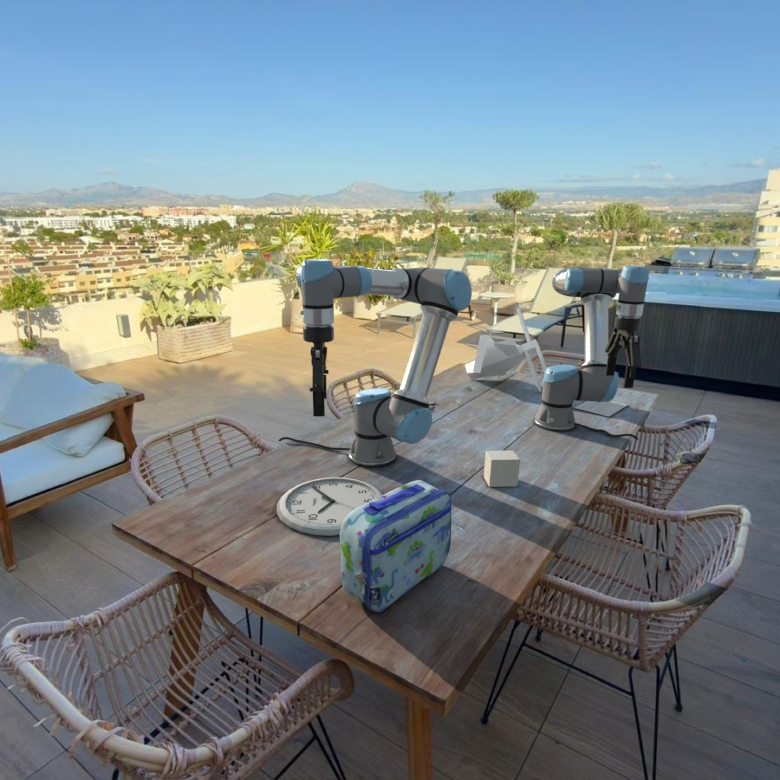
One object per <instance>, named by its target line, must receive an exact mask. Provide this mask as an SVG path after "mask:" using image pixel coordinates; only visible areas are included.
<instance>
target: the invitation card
mask: <svg viewBox="0 0 780 780" xmlns="http://www.w3.org/2000/svg"><path fill="white" fill-rule="evenodd" d="M628 406H629V404H627V403H623V402H618V401H614V400H611V401H610V402H594V401H583V402H582V403H580V404H578V405H575V406H574V407H573V409H575V410H581V411H584V412H587V413H593V414H596V415H600V416H604V417H608V418H609V417H611V416H613V415H614V414H616V413H617V412H619V411H621V410H623V409H624V408H626V407H628Z"/></svg>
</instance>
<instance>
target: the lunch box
mask: <svg viewBox="0 0 780 780" xmlns="http://www.w3.org/2000/svg"><path fill="white" fill-rule="evenodd" d="M383 494H384V495H382V496H380V497H378V498H376V499H374V500H372V501H370V502H368V503H366V504H364V505H362V506H360V507H358V508H356V509H354V510H353V511H351V512H350V513H349V514H348V515H347V516H346V518H345V519H344V521H343V523H342V526H341V530H340V535H339V551H340V574H341V576H340V577H341V585H342V588H343V589H342V590H343V591H344V593H346V594H348V595H350V596H352V597H353V598H355V599H357V600H358V601H359V602H361V603H362V604H364V605H365V606H366V608H367V609H369V610H370V611H371V612H374V613H381V612H384V611H385V610H386V609H387V608H389V607H390V606H391V605H392V604H393V603H395V602H396V601H397V600H399V599H400V598H401V597H402V596H404V595H405V594H407V593H408V592H410V591H411V590H412V589H413V588H415V587H416V586H417V585H418V584H419V583H420V582H421V581H423V580H425V579H426V578H427V577H429V576H430V575H432V574H434V573H435V572H436V571H438V570H439V569H440V568H441V567H442V566H443V565H444V563H445V562H446V560H447V558H448V556H449V553H450V550H451V549H450V548H451V545H452V543H451V542H452V497H451V494H450V492H449V491H448V490H446V489H438V488H437V487H435V486H434V485H431V484H429V483H427V482H426V481H424V480H421V479H416V480H413V481H410V482H408V483H405V484H403V485H401V486H399V487H397V488H394V489H393V490H390V491H388V492H387V493H383Z"/></svg>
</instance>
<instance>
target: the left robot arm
mask: <svg viewBox="0 0 780 780" xmlns="http://www.w3.org/2000/svg"><path fill="white" fill-rule="evenodd" d="M295 280H296V283H297V285H298V287H299V288H300V289H301V303H302V304H301V307H302V310H300V311H299V315H301V316H302V323H303V326H302V338H303V341H304V342H306V343H312V344H313V346H311V347H310V357H311V362H310V363H311V367H312V376H311V377H312V383H311V384H312V387H310V388H309V392H311V393H312V411H313V412H312V414H313V415H312V416H313V417H325V415H326V414H325V413H326V412H325V410H326V409H325V406H326V405H325V400H328V399H327V398H328V396H327V395H328V394H327V392H328V391H327V389H328V388H327V375H329V373H330V372H329V371H330V370H329V369H327V356H328V346H326V343H330V342H333V341H334V340H335V326H334V325H333V324H334V323H335V306H334V305H335V304H334V303H335V302H334V301H335V300H334V299H341V298H342V299H343V298H355V297H356V298H358V297H361V296H366V295H368V296H369V295H370V296H384V297H385V296H388V297H390V298H391V299H393V300H401V301H406V302H411V303H412V304H413V303H414V304H418V305H419V308H420V310H421V311H422V317H421V320H420V323H419V327H418V330H417V333H416V336H415V339H414V341H413V346H412V348H411V352H410V354H409V358H408V361H407V365H406V368H405V371H404V374H403V377H402V380H401V384H400V386H399V388H398V389H397V390H394V391H393V393H392V392H391V390H390V389H388V388H383V387H382V388H380V387H378V388H377V387H376V388H368V389H367V388H366V389H363V390H360V391H358V392H356V394H355V396H354V404H353V412H354V413H353V415H354V417H353V418H354V420H353V421H354V436H353V439H352V442H351V445H350V447H333V446H327V445H324V444H320V443H315V442H311V441H307V440H301V439H300V440H299V439H296V438H292V437H289V436H283V437H280V438H279V439H278V440H277V441H278V442H281V441H284V440H289V441H292V442H296V443H300V444H306V445H311V446H315V447H319V448H322V449H327V450H331V451H349V452H348V457H349V460H350V461H351V462H352V463H354V464H356V465H358V466H362V467H370V468H377V467H383V466H387V465H389V464H391V463H393V462H394V461H395V460H396V449H395V445H394V443H393V440H392V439H394V440H397V441H398V442H401V443H406V444H409V445H413V444H414V445H415V444H418V443H420V442H421V441H422V440H423V439H424V438H426V436H427V435H428V434H429V433H430V430H431V427H432V425H433V418H432V417H433V414H432V412H431V411H430V409H429V408H430V405H431V404H430V403H429V401H430V400H428V394H429V391H430V388H431V386H432V385H431V384H432V381H433V378H434V375H435V372H436V369H437V366H438V362H439V359H440V355H441V353H442V349H443V346H444V343H445V339H446V337H447V333H448V330H449V328H450V327H449V326H450V324H451V322H452V321H454V320H456V319H457V318H458V314H459V312H462V311H464V310H466V309H467V308H468V307H469V305H470V304H471V300H472V295H473V289H472V284H471V280H470V277H469V276H468V275H467V274H466V273H465V272H464V271H462V270H457V269H453V268H448V269H447V268H436V267H427V266H426V267H409V268H408V267H406V268H404V267H403V268H401V267H395V268H393V269H391V270H388V269H378V268H369V267H368V268H367V267H365V266H362V265H353V266H352V265H351V266H349V265H348V266H347V265H335V264H333V260H330V259H325V258H324V259H323V258H320V259H318V258H316V259H313V258H309V259H305V260H303V261H302V263H301V265H300V266H299V267H298V268H297V270H296V274H295ZM429 404H430V405H429Z"/></svg>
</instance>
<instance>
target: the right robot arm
mask: <svg viewBox="0 0 780 780" xmlns="http://www.w3.org/2000/svg"><path fill="white" fill-rule="evenodd" d="M649 274H650V268H649V267H648V266H645V265H625V266H624V267H623V268H619V269H612V268H605V267H575V266H574V267H567V268H563V269H560V270H558V271H557V272H555V274H554V275H553V277H552V280H551V285H552V288H553V290H554V291H555V292H556V293H557V294H560V295H562V296H565V297H571V298H580V304H581V305H583V306H584V363H582V365H581V366H580V367H579V368H580V369H578V367H577V366H576V365H574V364H573V365H572V364H556V365H555V364H554V365H552V366H549V367H547V369H546V371H545V374H544V375H543V379H542V382H543V384H542V394H541V402H540V405H539V407H538V410H537V411H536V413H535V417H534V424H535V425H536V426H537V427H539V428H542V429H544V430H549V431H556V432H567V431H572V430H574V429H575V428H576V426H577V427H581V428H583V429H587V430H589V431H594V432H599V433H604V434H606V435H607V436H608V437H611V438H622V437H632V438H634V439H635V440H639V438H638V436H636V435H635V434H632V433H622V434H621V433H620V434H612V433H609V431H607V430H606V429H598V428H593V427H591V426H588V425H584V424H582V423H577V422H576V418H575V417H576V416H575V413H574V407H573V405H574V401H577V402H580V401H581V402H586V401H594V402H610V401H613V400H614V398H615V396H616V394H617V392H618V388H619V383H620V376H619V372H617V371H616V364H617V359H618V353H619V351H620V350H621V348H622V349H624V352H625V356H626V357H625V358H626V362H627V366H626V367H625V374H624V380H623V385H622V388H623V389H633V388H634V385H635V377H636V372H637V369H641V368H642V360H641V346H640V343H641V336H640V335H636V332H637V331H639V330H641V325H642V318H641V317H643V313H644V307H645V300H646V294H647V290H648V288H647V287H648V283H649V280H650V275H649ZM617 294H618V299H617V305H616V306H615V309H616V312H615V314H616V316H615V318H614V323H613V324H614V325H613V328H612V332H611V335H610V337H609V305H610V304H611V303H612V302H613V299H615V298H616V296H617Z"/></svg>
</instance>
